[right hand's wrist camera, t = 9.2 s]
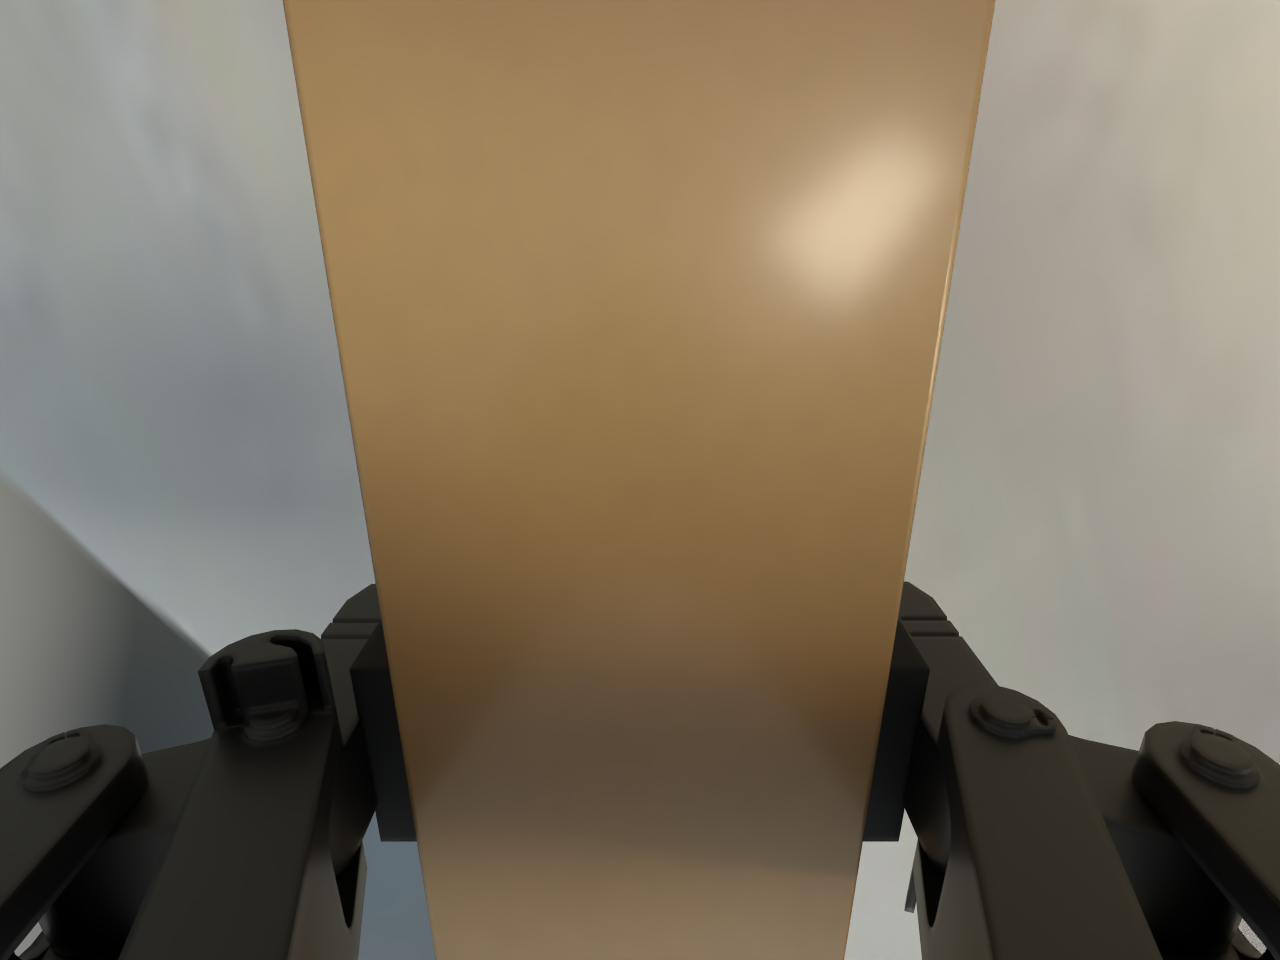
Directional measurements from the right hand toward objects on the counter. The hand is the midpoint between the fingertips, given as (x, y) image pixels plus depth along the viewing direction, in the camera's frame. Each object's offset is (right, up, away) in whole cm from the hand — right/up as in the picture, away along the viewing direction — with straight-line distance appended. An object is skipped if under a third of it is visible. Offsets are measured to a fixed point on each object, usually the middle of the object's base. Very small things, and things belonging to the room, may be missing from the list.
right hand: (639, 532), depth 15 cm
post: (0, +26, -10) cm, 28 cm away
